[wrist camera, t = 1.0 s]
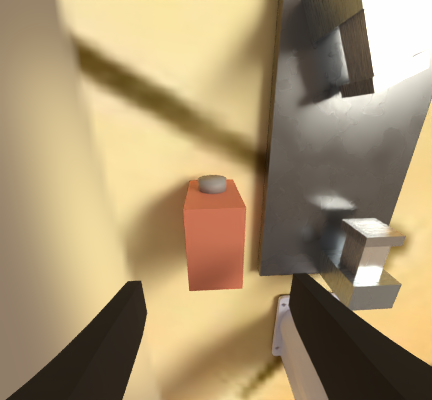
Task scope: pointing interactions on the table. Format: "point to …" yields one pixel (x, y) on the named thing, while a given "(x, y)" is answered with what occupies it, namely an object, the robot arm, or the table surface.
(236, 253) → the block
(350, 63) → the stand
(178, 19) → the table surface
